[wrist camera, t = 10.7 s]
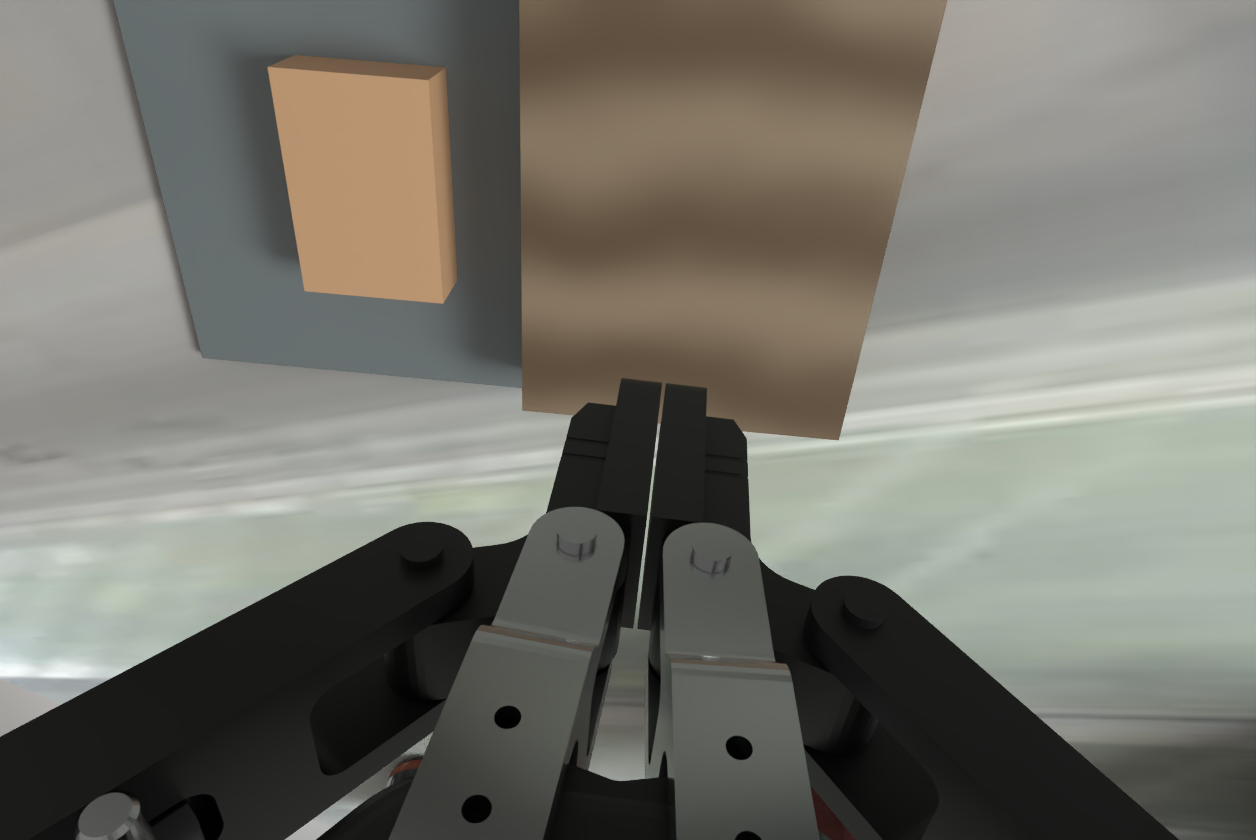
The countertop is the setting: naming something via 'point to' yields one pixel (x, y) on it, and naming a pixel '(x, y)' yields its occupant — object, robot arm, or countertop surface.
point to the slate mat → (258, 195)
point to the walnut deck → (712, 196)
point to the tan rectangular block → (368, 175)
